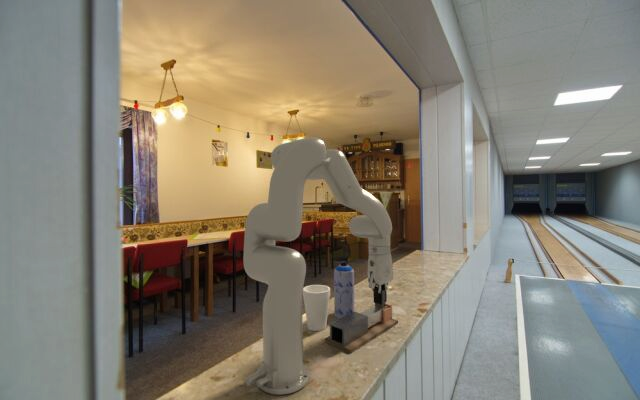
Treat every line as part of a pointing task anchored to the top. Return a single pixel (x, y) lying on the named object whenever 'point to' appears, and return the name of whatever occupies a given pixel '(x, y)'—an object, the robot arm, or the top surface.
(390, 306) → the socket block
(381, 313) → the square sliding rod
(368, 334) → the track board
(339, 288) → the aerosol can
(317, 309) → the foam cup
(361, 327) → the outer sleeve
